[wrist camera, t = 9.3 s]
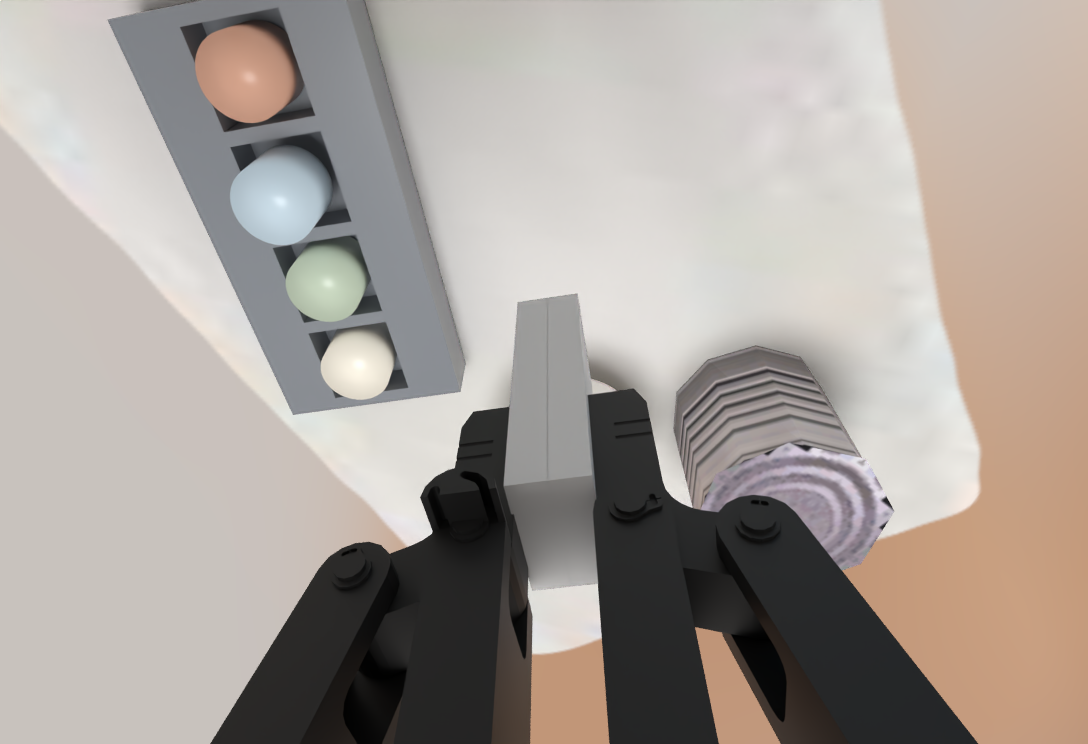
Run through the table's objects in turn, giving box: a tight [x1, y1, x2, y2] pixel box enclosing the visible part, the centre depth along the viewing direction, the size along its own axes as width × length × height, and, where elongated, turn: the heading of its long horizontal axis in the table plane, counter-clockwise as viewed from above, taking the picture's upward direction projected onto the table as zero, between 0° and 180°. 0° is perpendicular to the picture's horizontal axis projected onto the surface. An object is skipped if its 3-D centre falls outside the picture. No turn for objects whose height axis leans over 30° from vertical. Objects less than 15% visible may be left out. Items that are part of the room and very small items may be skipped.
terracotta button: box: [195, 20, 304, 123], centre depth 36 cm, size 4×4×4 cm
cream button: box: [321, 322, 397, 400], centre depth 45 cm, size 4×4×4 cm
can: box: [674, 346, 894, 570], centre depth 46 cm, size 11×11×12 cm
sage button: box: [286, 236, 371, 322], centre depth 42 cm, size 4×4×4 cm
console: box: [108, 0, 465, 415], centre depth 41 cm, size 25×12×4 cm, turn 10°
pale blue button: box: [230, 145, 333, 245], centre depth 37 cm, size 4×4×4 cm
